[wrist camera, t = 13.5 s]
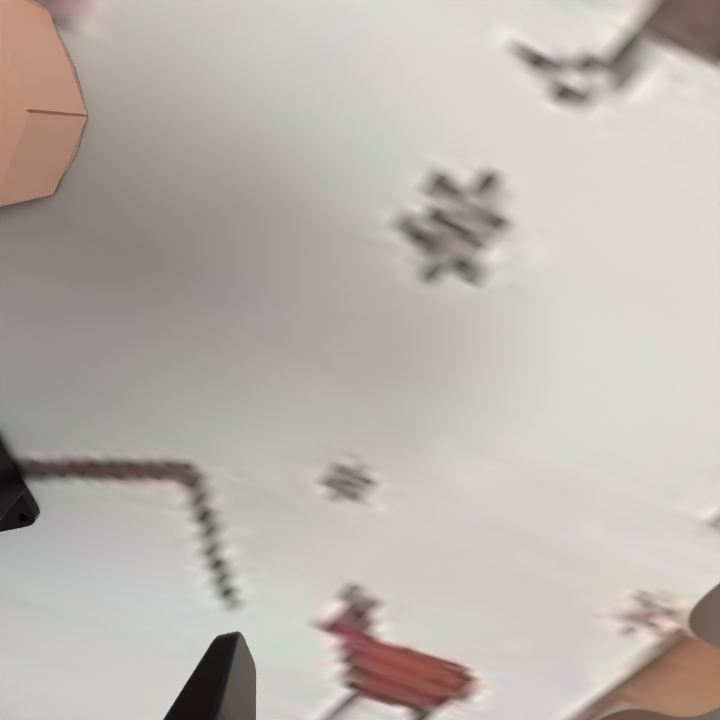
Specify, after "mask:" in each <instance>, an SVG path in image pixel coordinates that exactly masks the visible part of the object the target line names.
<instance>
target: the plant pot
mask: <svg viewBox="0 0 720 720" xmlns="http://www.w3.org/2000/svg"><path fill="white" fill-rule="evenodd" d="M46 10H47V9H46V8H45V7H43V6H42V5H40V4H39V3H37V2H36V1H34V0H0V207H2V206H6V205H11V204H15V203H20V202H24V201H28V200H33V199H37V198H42V197H46V196H51V195H52V194H54V192H55V190H56V188H57V185H58V183H59V181H60V179H61V178H62V177H63V175H64V174H65V173H66V171H67V170H68V169H69V167H70V165H71V164H72V162H73V160H74V158H75V156H76V154H77V151H78V148H79V145H80V142H81V137H82V132H83V127H84V124H85V122H86V120H87V117H86V116H84V115H88V114H87V112H86V109H85V106H84V104H83V98H82V92H81V87H80V82H79V79H78V76H77V73H76V69H75V66H74V64H73V62H72V59H71V57H70V55H69V52H68V50H67V48H66V47H65V45H64V43H63V41H62V39H61V38H60V36H59V34H58V33H57V31H56V29H55V26H54V23H53V21H52V18H51V15H50V12H48V11H46Z"/></svg>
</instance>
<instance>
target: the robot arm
mask: <svg viewBox="0 0 720 720" xmlns="http://www.w3.org/2000/svg"><path fill="white" fill-rule="evenodd" d="M23 513H26V514H27V515H28V516H27V515H24V514H23ZM39 514H40V511H39V508H38V507H37V505H36V503H35V501H34V500H33V498H32V496H31V494H30V493H29V491H28V489H27V488H26V486H25V484H24V482H23V481H22V479H21V477H20V475H19V474H18V472H17V470H16V468H15V467H14V465H13V463H12V462H11V460H10V458H9V456H8V455H7V453H6V451H5V449H4V448H3V446H2V444H1V442H0V532H2V531H7V530H12V529H16V528H21V527H26V526H30V525H32V524H33V523H34V522H35V521H36V519H37V518H38V516H39ZM163 720H256V669H255V664H254V660H253V658H252V655H251V653H250V651H249V648H248V646H247V644H246V641H245V639H244V637H243V635H242V634H241V633H240V632H232V633H227V634H222V635H219V636H217V637H216V638H215V639H214V640H213V642H212V643H211V645H210V646H209V648H208V650H207V651H206V653H205V654H204V656H203V657H202V659H201V661H200V662H199V664H198V665H197V667H196V669H195V670H194V672H193V673H192V675H191V677H190V678H189V680H188V681H187V683H186V684H185V686H184V688H183V689H182V691H181V692H180V694H179V696H178V697H177V699H176V700H175V702H174V703H173V705H172V707H171V708H170V710H169V711H168V713H167V715H166V716H165V718H164V719H163Z"/></svg>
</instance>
